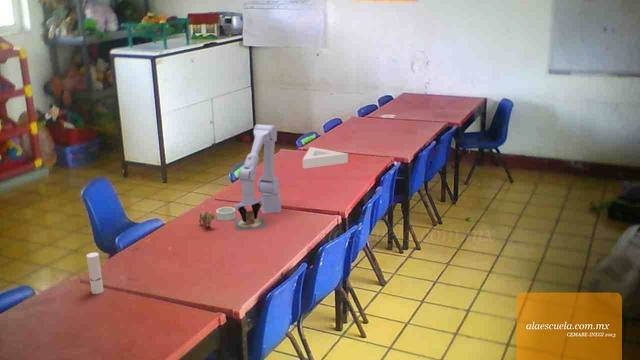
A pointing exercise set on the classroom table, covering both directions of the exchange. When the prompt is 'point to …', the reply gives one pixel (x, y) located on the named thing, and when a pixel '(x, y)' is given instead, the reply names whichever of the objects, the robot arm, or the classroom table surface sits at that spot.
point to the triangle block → (323, 158)
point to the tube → (95, 273)
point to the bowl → (225, 213)
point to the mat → (250, 228)
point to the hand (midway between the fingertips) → (249, 220)
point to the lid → (250, 221)
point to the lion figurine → (206, 218)
